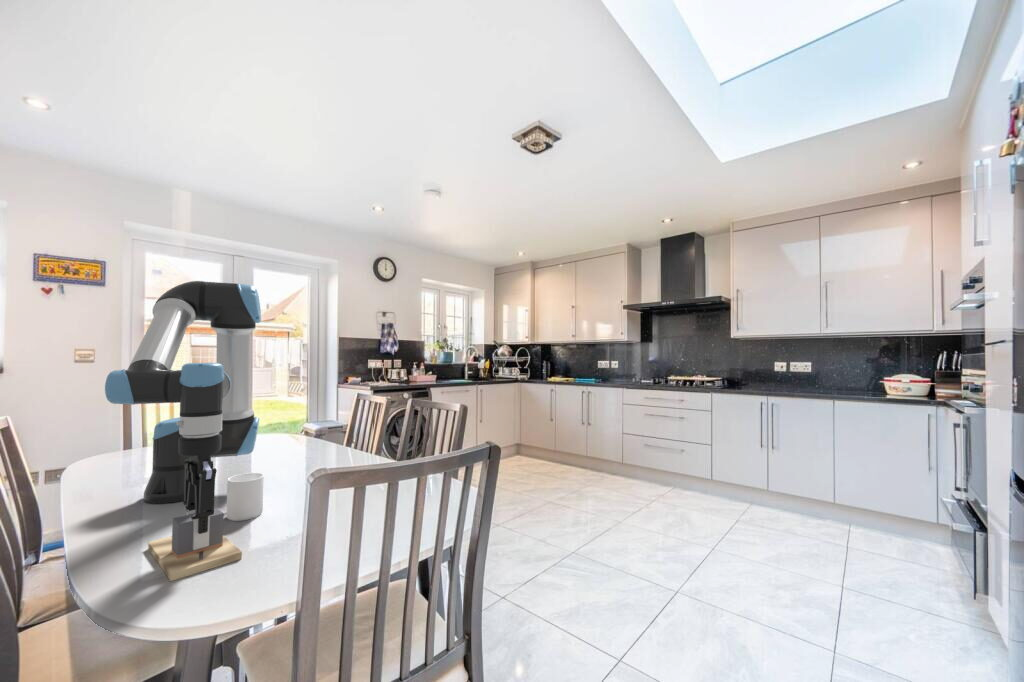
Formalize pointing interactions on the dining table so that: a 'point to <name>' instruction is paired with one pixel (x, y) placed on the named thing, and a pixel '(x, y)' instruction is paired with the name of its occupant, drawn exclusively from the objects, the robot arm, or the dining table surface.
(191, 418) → the robot arm
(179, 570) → the board
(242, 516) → the cup
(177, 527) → the block
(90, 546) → the dining table surface
